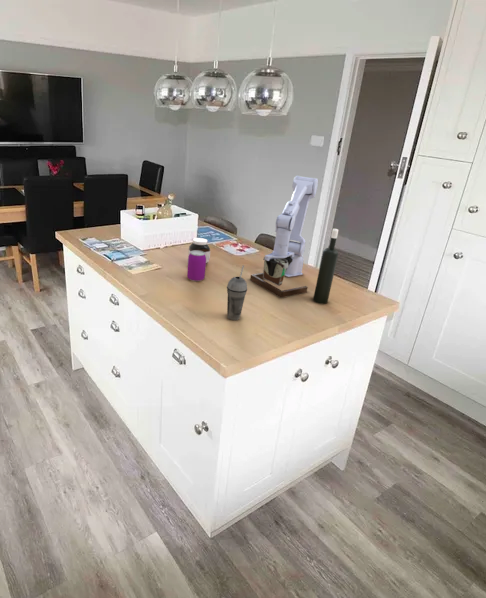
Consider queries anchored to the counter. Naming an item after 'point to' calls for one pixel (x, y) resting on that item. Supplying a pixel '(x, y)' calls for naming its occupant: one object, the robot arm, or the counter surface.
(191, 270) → the beverage can
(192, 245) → the spread jar
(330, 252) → the wine bottle
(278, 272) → the food container
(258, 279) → the brown frame
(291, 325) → the counter surface
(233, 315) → the beverage cup
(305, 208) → the robot arm
